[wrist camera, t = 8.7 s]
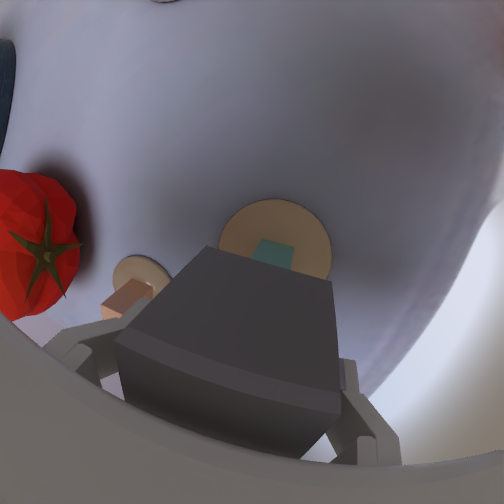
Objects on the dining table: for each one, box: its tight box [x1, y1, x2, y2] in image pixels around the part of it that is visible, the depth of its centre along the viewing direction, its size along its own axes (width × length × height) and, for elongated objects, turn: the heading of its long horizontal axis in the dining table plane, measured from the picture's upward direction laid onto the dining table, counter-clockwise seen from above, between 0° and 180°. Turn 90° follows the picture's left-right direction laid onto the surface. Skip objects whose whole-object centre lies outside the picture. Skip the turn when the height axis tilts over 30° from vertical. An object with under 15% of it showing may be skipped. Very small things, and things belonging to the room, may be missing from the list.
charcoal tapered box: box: [113, 246, 341, 459], centre depth 9 cm, size 5×5×6 cm
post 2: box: [218, 199, 332, 280], centre depth 14 cm, size 7×7×6 cm
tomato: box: [0, 169, 85, 322], centre depth 15 cm, size 13×13×13 cm
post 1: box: [101, 255, 172, 320], centre depth 18 cm, size 6×6×4 cm
